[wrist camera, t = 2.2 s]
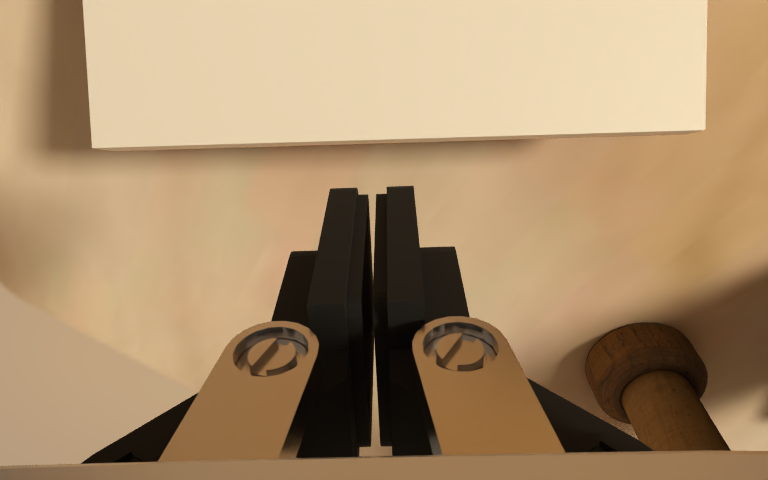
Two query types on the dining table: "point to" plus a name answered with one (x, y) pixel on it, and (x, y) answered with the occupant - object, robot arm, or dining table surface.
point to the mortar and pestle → (654, 387)
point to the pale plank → (390, 71)
